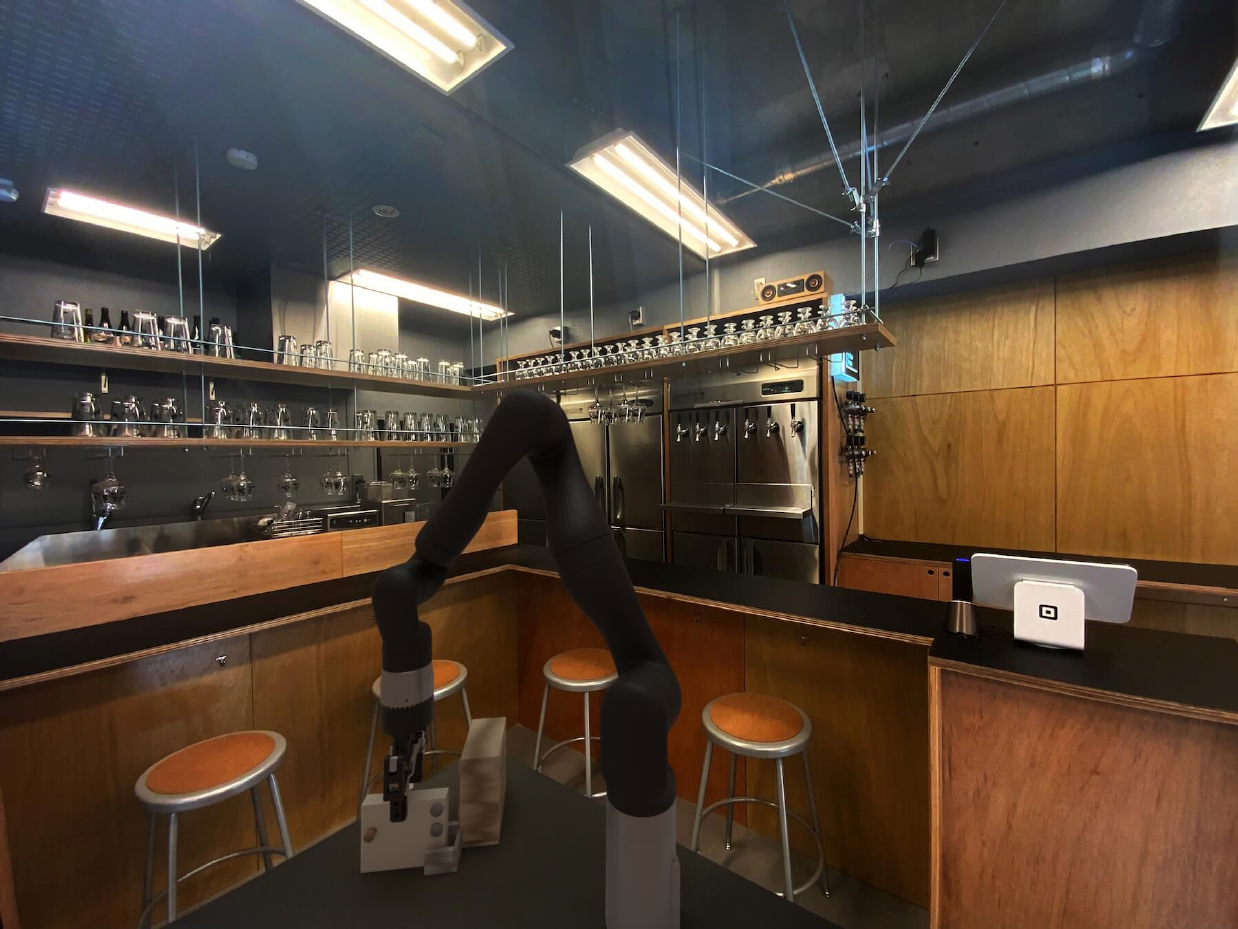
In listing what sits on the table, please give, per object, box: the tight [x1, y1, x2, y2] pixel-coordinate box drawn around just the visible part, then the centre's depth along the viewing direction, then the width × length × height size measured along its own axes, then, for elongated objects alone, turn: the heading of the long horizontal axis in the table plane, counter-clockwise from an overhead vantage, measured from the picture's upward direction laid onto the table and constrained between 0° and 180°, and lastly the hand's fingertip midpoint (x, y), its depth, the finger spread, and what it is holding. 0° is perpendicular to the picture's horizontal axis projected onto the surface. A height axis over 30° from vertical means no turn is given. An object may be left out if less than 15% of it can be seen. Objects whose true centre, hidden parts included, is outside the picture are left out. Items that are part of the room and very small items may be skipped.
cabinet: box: [423, 716, 507, 876], centre depth 78 cm, size 10×16×14 cm, turn 8°
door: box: [360, 787, 450, 874], centre depth 71 cm, size 12×4×10 cm, turn 98°
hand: (407, 800), depth 72 cm, fingers open, 8 cm apart
